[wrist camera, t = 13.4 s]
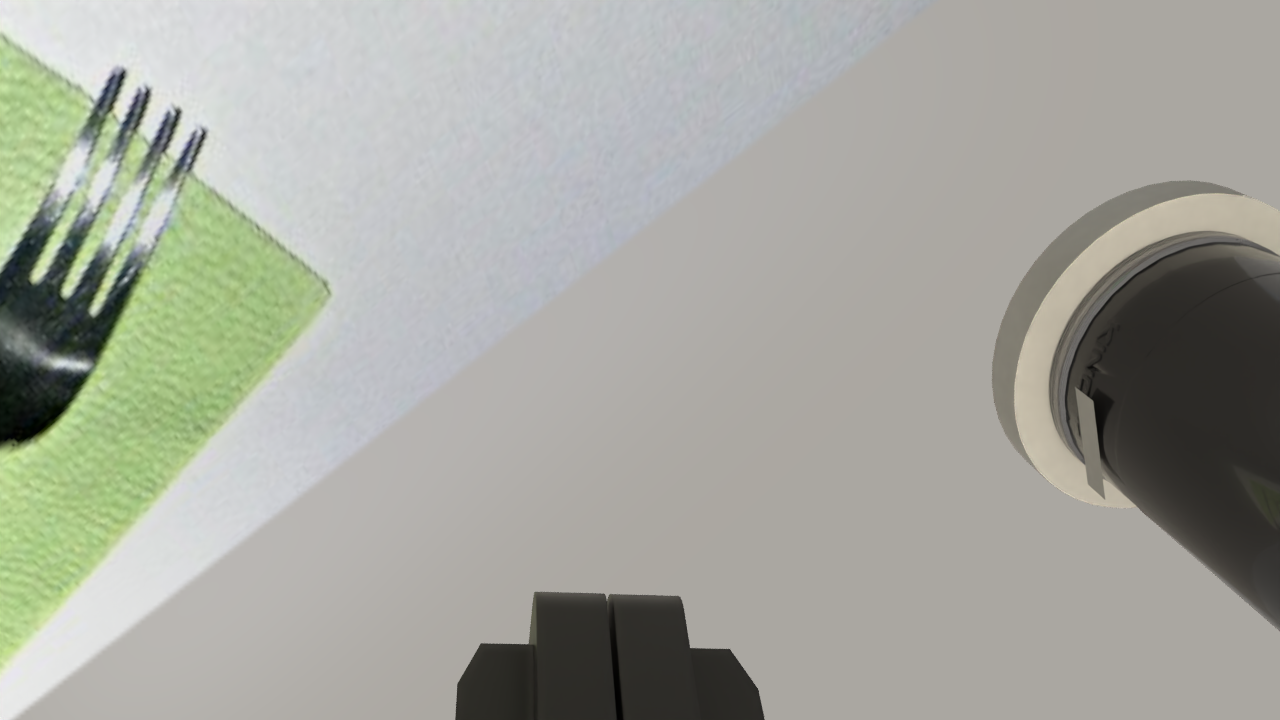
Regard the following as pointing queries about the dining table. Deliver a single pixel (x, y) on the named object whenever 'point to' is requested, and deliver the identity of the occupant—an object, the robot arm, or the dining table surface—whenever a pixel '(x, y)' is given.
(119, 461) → the dining table surface
